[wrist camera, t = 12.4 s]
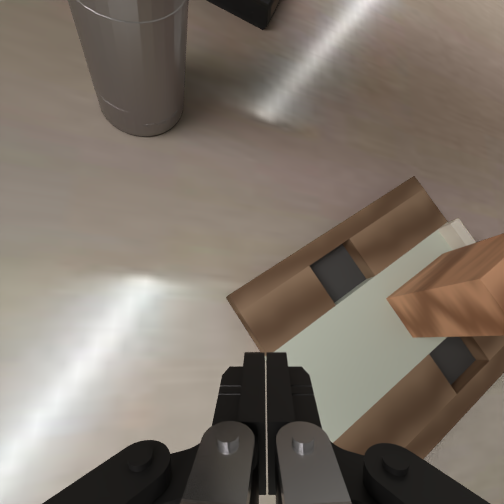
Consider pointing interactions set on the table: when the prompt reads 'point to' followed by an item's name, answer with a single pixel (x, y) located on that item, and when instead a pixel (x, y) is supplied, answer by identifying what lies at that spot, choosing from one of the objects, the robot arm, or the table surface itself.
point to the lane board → (371, 327)
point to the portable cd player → (250, 10)
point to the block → (456, 293)
